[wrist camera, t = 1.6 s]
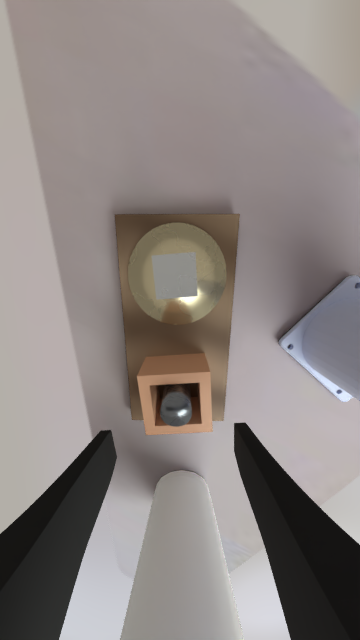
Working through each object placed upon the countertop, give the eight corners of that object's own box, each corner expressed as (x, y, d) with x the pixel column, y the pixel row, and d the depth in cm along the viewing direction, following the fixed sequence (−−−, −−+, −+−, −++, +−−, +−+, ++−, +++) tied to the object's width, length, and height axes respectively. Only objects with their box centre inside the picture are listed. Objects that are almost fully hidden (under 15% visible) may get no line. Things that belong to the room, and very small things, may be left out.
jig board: (221, 412, 17) (223, 420, 16) (134, 411, 17) (131, 420, 16) (235, 219, 13) (239, 214, 12) (119, 219, 13) (114, 214, 12)
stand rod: (194, 379, 15) (198, 412, 11) (178, 395, 16) (177, 431, 12) (176, 365, 15) (174, 394, 11) (160, 381, 15) (153, 414, 12)
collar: (204, 353, 14) (210, 371, 12) (206, 403, 16) (212, 431, 13) (145, 356, 15) (136, 376, 12) (152, 406, 16) (146, 435, 13)
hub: (225, 219, 12) (244, 192, 8) (226, 320, 14) (242, 336, 10) (121, 228, 12) (95, 205, 8) (135, 326, 14) (119, 344, 10)
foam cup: (199, 525, 21) (223, 880, 9) (132, 503, 21) (52, 860, 8) (235, 475, 19) (336, 850, 7) (162, 449, 18) (119, 819, 6)
